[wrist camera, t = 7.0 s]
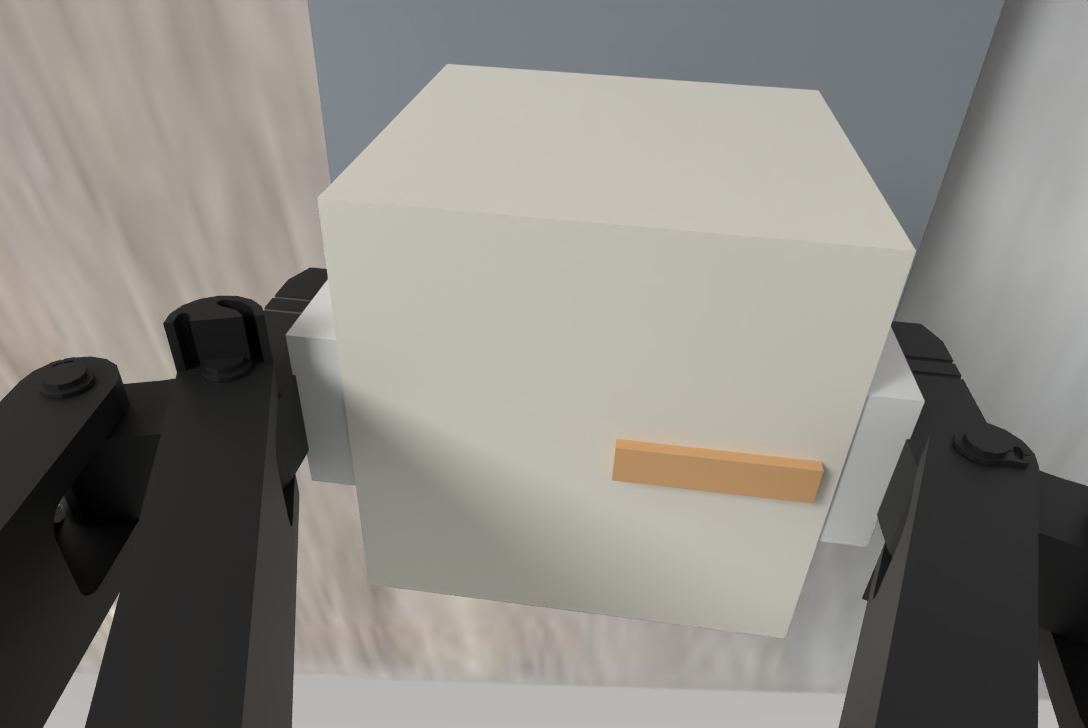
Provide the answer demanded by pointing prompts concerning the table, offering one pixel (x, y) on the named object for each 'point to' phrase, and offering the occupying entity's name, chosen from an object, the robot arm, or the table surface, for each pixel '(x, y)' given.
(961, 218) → the table surface
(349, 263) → the cream cube
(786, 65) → the shaft plate
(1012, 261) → the table surface
